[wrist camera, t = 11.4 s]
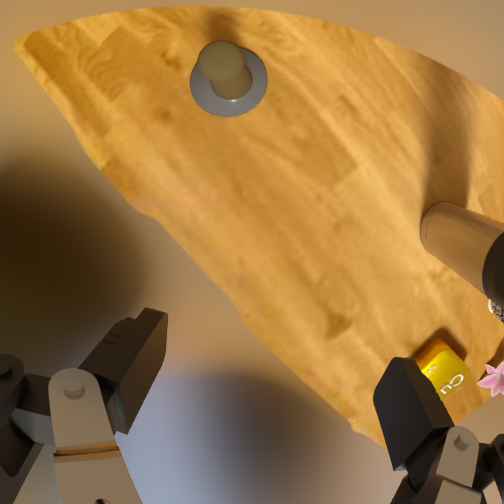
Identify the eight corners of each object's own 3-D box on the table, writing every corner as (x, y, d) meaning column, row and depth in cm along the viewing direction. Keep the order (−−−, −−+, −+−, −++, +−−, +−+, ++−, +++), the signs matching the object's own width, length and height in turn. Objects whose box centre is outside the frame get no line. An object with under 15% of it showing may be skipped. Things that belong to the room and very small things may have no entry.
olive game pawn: (220, 56, 35) (204, 27, 25) (259, 69, 36) (256, 42, 25) (203, 92, 37) (181, 72, 27) (242, 106, 37) (232, 89, 27)
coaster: (273, 53, 35) (273, 52, 35) (259, 122, 39) (259, 122, 38) (199, 45, 35) (198, 43, 34) (184, 112, 39) (183, 111, 38)
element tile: (437, 333, 48) (447, 346, 44) (464, 361, 50) (473, 374, 46) (384, 383, 52) (390, 398, 48) (417, 404, 55) (424, 418, 50)
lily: (499, 339, 49) (502, 368, 42) (525, 355, 45) (528, 383, 38) (470, 368, 56) (469, 396, 49) (496, 382, 53) (497, 409, 45)
